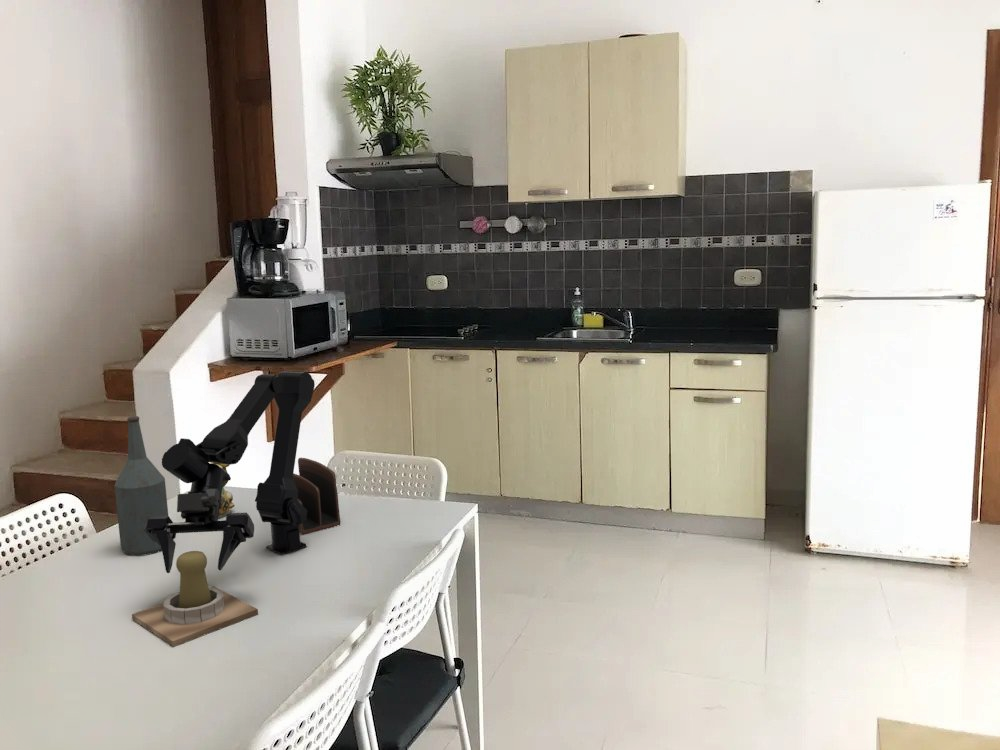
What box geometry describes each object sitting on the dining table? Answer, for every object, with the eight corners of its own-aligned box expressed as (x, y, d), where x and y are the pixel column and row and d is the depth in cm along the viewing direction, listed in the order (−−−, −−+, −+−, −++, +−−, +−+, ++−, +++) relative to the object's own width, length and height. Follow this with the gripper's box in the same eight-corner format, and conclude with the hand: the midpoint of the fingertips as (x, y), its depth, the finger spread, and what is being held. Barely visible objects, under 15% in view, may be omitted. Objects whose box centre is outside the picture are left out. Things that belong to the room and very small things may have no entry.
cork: (202, 619, 148) (196, 560, 147) (171, 617, 150) (165, 558, 148) (220, 605, 154) (215, 548, 152) (190, 603, 155) (185, 546, 154)
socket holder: (132, 619, 152) (130, 601, 151) (214, 590, 163) (212, 573, 163) (173, 646, 141) (171, 627, 140) (258, 614, 152) (256, 596, 152)
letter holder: (304, 506, 214) (300, 453, 212) (341, 526, 199) (337, 468, 197) (267, 515, 208) (263, 460, 206) (302, 536, 193) (298, 476, 190)
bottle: (122, 559, 181) (108, 423, 176) (120, 545, 190) (105, 415, 185) (173, 550, 186) (160, 417, 181) (168, 536, 194) (156, 410, 189)
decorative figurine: (214, 523, 203) (208, 463, 200) (186, 520, 206) (181, 460, 203) (239, 510, 212) (235, 453, 209) (213, 508, 215) (208, 451, 212)
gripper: (142, 475, 154) (125, 555, 145) (245, 470, 154) (235, 550, 145) (161, 503, 163) (146, 580, 154) (258, 498, 164) (249, 574, 155)
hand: (193, 570), depth 152 cm, fingers open, 9 cm apart
